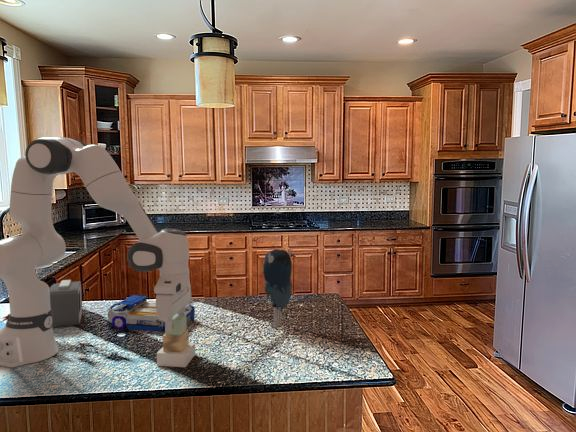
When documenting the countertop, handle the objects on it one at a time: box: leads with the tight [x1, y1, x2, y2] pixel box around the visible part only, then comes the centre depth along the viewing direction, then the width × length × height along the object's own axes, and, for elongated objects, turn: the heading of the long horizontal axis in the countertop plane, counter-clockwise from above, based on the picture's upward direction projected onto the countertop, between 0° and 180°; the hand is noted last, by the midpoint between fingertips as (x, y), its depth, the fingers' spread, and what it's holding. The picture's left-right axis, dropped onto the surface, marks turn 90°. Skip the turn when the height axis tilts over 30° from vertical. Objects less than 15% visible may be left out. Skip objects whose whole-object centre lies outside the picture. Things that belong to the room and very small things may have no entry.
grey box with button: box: [49, 279, 83, 328], centre depth 168 cm, size 16×11×16 cm
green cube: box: [164, 314, 188, 336], centre depth 134 cm, size 5×5×5 cm
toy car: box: [107, 294, 196, 333], centre depth 166 cm, size 16×30×10 cm, turn 80°
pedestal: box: [156, 342, 196, 368], centre depth 135 cm, size 9×9×4 cm
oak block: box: [162, 329, 190, 352], centre depth 134 cm, size 6×6×5 cm
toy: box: [262, 248, 293, 329], centre depth 163 cm, size 14×11×30 cm
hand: (175, 324), depth 134 cm, fingers open, 8 cm apart
